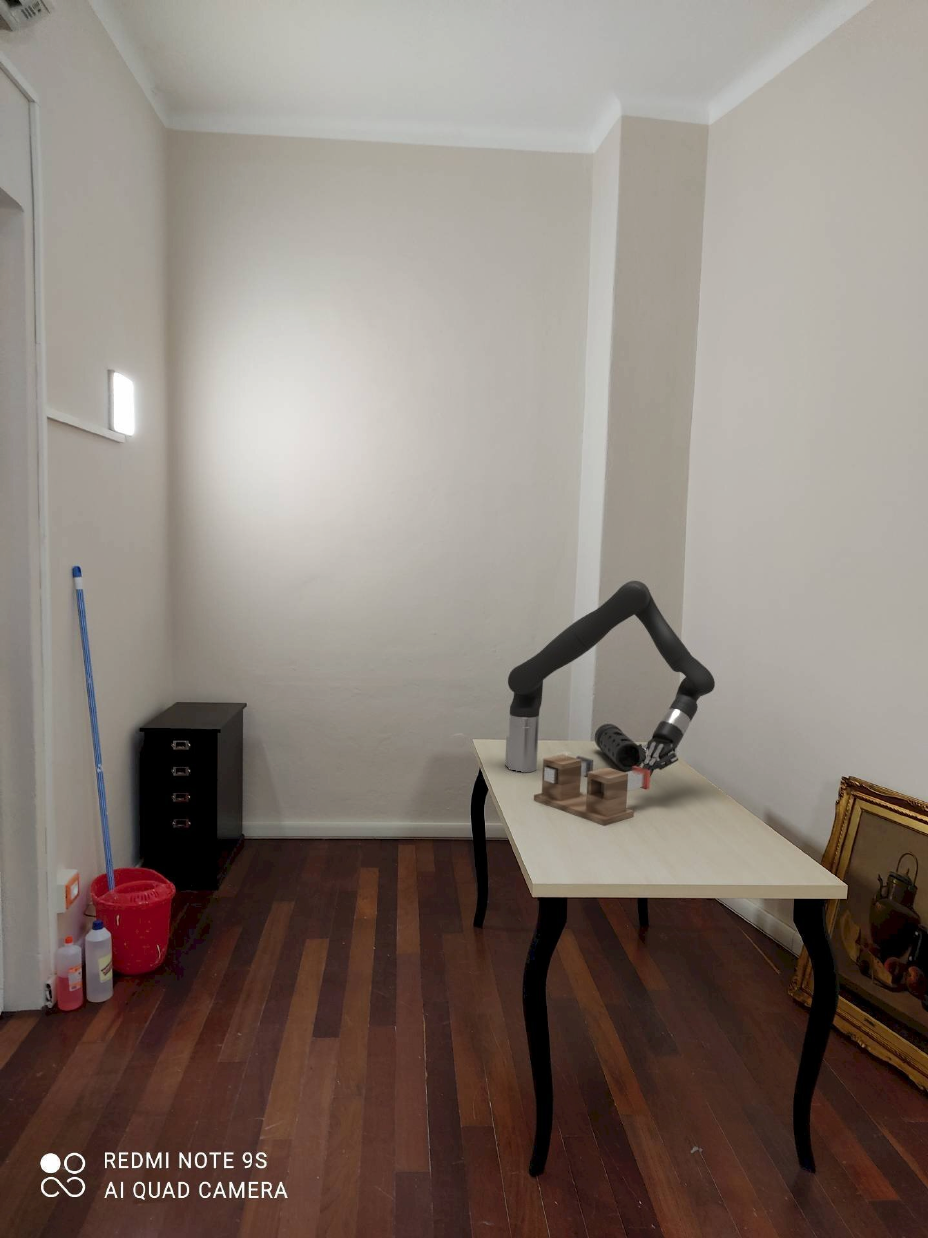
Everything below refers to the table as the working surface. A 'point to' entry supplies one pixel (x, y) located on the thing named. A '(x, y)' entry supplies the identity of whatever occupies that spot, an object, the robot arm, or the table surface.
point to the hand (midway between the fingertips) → (643, 777)
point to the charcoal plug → (552, 772)
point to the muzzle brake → (618, 746)
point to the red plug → (636, 779)
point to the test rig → (593, 804)
